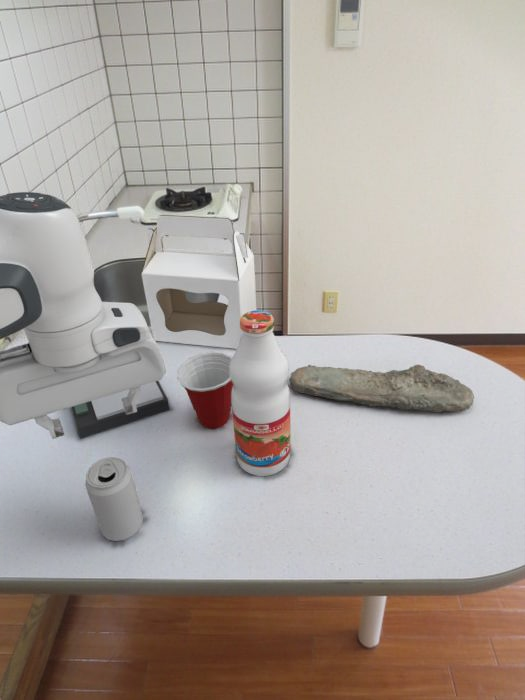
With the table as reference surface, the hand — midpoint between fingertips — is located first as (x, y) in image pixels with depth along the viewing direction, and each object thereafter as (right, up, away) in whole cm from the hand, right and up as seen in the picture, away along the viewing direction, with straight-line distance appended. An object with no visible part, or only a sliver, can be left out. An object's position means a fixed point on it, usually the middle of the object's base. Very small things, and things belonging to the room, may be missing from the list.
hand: (95, 422), depth 69 cm
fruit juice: (+22, -9, +22) cm, 33 cm away
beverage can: (+1, -17, +11) cm, 21 cm away
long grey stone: (+45, +1, +35) cm, 57 cm away
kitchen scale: (-7, -1, +35) cm, 36 cm away
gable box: (+9, +14, +56) cm, 59 cm away
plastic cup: (+13, -4, +31) cm, 33 cm away
